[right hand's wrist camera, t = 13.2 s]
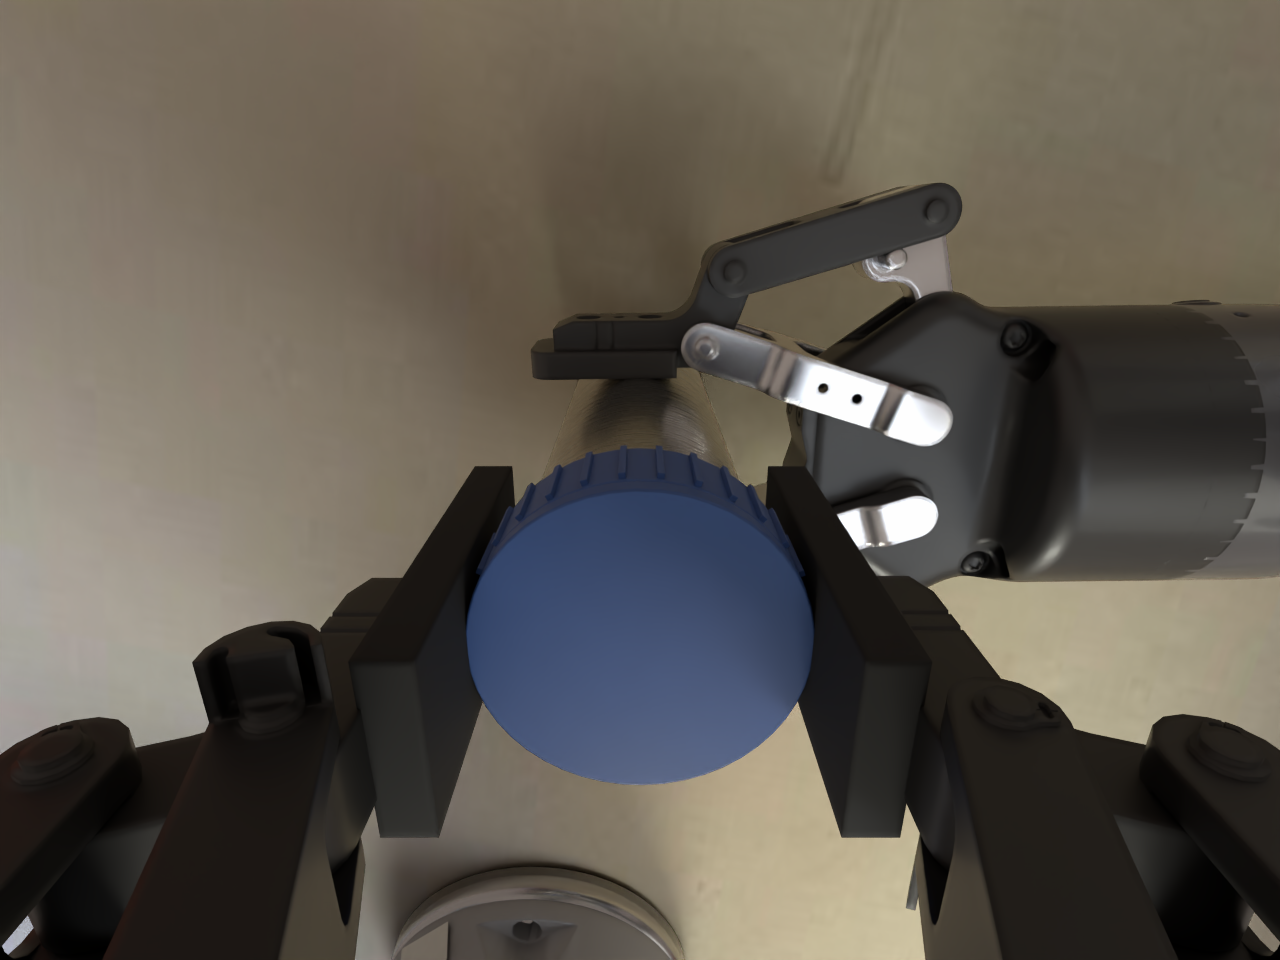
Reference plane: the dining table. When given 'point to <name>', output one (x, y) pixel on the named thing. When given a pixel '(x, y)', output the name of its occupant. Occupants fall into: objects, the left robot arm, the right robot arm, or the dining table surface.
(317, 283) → the dining table surface
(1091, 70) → the dining table surface
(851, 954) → the dining table surface
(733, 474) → the beige bottle
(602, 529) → the lid
